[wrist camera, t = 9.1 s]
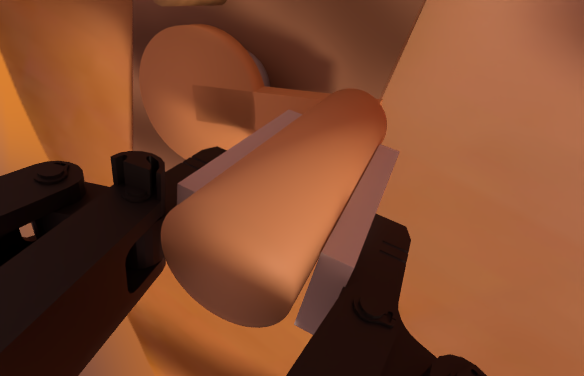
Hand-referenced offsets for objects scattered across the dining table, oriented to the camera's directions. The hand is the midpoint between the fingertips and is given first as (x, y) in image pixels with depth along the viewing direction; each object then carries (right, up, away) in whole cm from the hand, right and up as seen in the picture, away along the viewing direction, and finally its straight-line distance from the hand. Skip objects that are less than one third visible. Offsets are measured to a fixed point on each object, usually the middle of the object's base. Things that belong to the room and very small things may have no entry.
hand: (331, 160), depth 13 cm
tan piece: (-3, +3, +3) cm, 6 cm away
